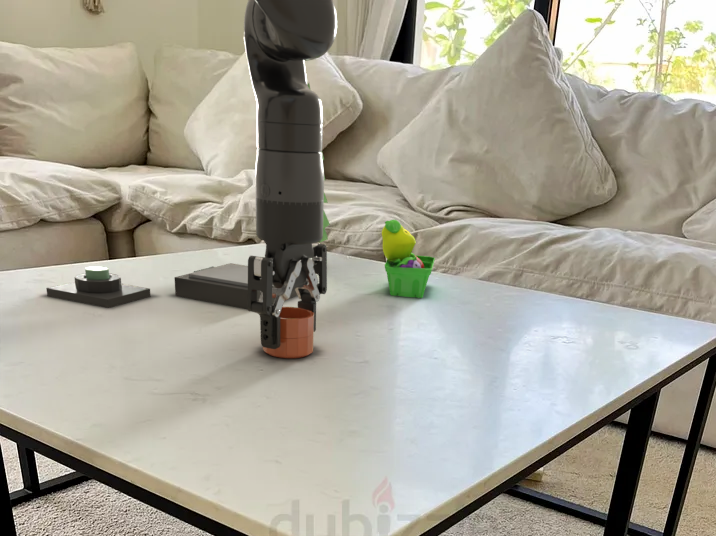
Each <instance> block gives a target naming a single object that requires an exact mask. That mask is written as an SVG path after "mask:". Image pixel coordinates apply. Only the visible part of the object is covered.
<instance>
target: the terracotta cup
mask: <svg viewBox="0 0 716 536" xmlns="http://www.w3.org/2000/svg"><path fill="white" fill-rule="evenodd" d="M279 316H280V347H279V348H277V349H270V348H265V347H263V346H262V351H264V353H266V354H268V355H269V356H272V357H275V358H281V359H299V358H304V357H305V358H306V357H308V356H309V355H311V354H313V353H314V336H315V335H314V333H315V332H314V313H313V312H312V311H310V310H307V309H303V308H298V306H297V307H296V306H282V309H281V312H280V315H279Z"/></svg>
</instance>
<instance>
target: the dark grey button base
mask: <svg viewBox="0 0 716 536" xmlns="http://www.w3.org/2000/svg"><path fill="white" fill-rule="evenodd" d="M109 276H110V279H105V280H91V279H86V273H81V274H76V275H75V276H74V281H72V282H68V283H63V284H58V285H53V286H49V287H46V296H47V297H51V298H55V299H59V300H66V301H70V302H76V303H79V304H86V305H91V306H96V307H101V308H106V309H109V308H114V307H118V306H122V305H124V304H128V303H132V302H136V301H140V300H144V299H146V298H151V296H152V295H151V288H148V287H143V286H137V285H133V284H126V283H122V276H121V275H118V274H117V273H110V272H109Z"/></svg>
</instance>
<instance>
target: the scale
mask: <svg viewBox="0 0 716 536" xmlns="http://www.w3.org/2000/svg"><path fill="white" fill-rule="evenodd" d="M173 279H174V292H175V293H174V294H175V297H178V298H185V299H189V300H190V299H191V300H195V301H201V302H207V303H211V304H217V305H222V306H229V307H233V308H234V307H235V308H239V309H246V310H248V265H244V264H239V263H231V262H229V263H226V264H222V265H217V266H209V267H206V268H202V269H201V268H200V269H198V270H194V271H192V272H189V273H186V274H182V275H177V276H174V278H173ZM260 279H261V278H260ZM272 287H274V286H273V285H272ZM274 288H275V287H274ZM260 296H261V292H260V291H258V290H257V301H258V302H259V299H260ZM295 297H298V295H297V293H296V291H295V290H293V291H292V292H291V294H290V297H289V299H288V300H290V299H292V298H295ZM274 301H275V298H272V305H273V304H274Z"/></svg>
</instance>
